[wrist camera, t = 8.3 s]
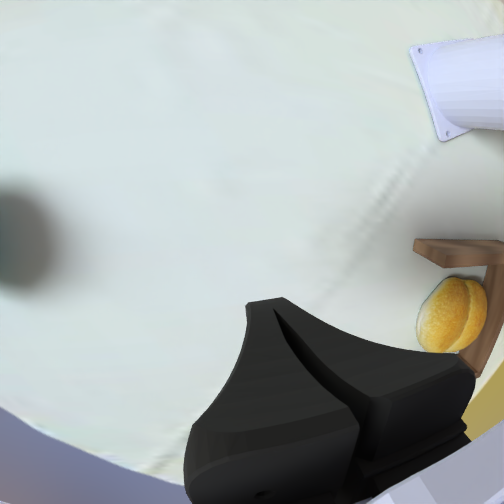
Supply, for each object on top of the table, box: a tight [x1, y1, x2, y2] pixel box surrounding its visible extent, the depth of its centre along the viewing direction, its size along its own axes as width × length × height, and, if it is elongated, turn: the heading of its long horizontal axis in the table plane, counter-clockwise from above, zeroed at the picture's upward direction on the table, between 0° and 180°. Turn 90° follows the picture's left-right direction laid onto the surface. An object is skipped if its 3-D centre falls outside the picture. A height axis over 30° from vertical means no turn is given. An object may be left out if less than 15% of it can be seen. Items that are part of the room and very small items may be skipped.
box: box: [413, 239, 504, 378], centre depth 25 cm, size 13×15×4 cm
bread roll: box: [416, 277, 487, 353], centre depth 26 cm, size 8×9×4 cm
